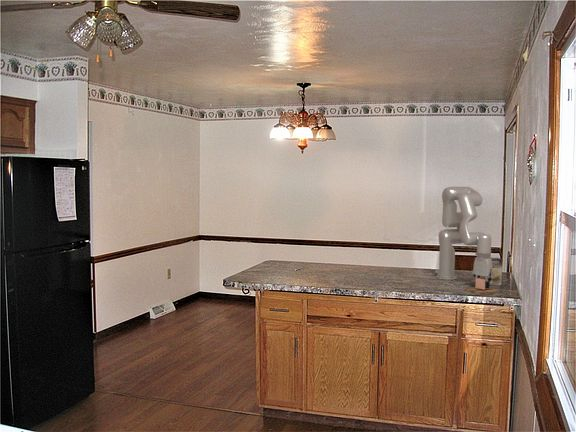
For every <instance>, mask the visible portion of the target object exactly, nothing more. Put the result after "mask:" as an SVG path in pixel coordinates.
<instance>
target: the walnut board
mask: <svg viewBox="0 0 576 432" xmlns="http://www.w3.org/2000/svg"><path fill="white" fill-rule="evenodd" d="M501 291H502V290H501V289H496V288H492V287H490V288H489V289H484V290H483V289H479V288H475V286H472V287H467V288H464V292H469V293H471V294H477V295H482V296H490V295H494V294H495V295H496V294H499V292H500V293H501Z"/></svg>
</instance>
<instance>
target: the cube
mask: <svg viewBox="0 0 576 432" xmlns="http://www.w3.org/2000/svg"><path fill="white" fill-rule="evenodd" d="M485 281H486V278H483V276H480V278H476V279H475V286H474V287H475V288H479V289H483V290H484V289H489V288H491V287H490V286H491V285H490V286H489V288H485Z"/></svg>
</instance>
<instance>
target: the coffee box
mask: <svg viewBox="0 0 576 432" xmlns="http://www.w3.org/2000/svg"><path fill="white" fill-rule="evenodd" d="M491 259H492V269H493V271H492V272H493V274H494V275H495V277H494V278H493V279H492V280H491V281H490V286H502V279H503V278H502V275H503V259H502V258H500V257H491ZM482 277H483V278H485V277H484V276H482ZM490 277H491V276H490Z"/></svg>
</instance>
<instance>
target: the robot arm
mask: <svg viewBox="0 0 576 432" xmlns="http://www.w3.org/2000/svg"><path fill="white" fill-rule="evenodd" d="M441 199H442V217H441V223H442V226H443V227H445V228H446V229H442V230H440V231H439V233H438V243H439V263H438V269H436V270H435V271H434V274H436V276H435V277H436V279H438V280H439V279H440V280H444V281H445V280H446V281H447V280H448V281H450V280H451V281H452V280H456V279H457V278H458V277H457V276H456V275H455V267H456V266H455V263H456V249H455V248H454V245H461V244H463V245H465V246H476V252H475V255H476V257H474V262H473V269H472V270H471V271H470V273H471V275H473V278H474V279H475V280H476V278H481V277H483V276H484V277H485V278H486V281H485V288H489V286H491V285H490V281H491V280H492V279H493V278H494V277H495V275H494V274H493V272H492V271H493V269H492V259H491V258H492V256H491V255H492V236H491V235H490V234H489V233H488V234H487V233H485V232H469V230H468V223H470V222H472V221H474V220H475V219H476V218H477V217H478V212H477V209H476V207H480V206H481V205H482V203H483V197H482V195H481V194H480V193H479V192H478V191H477V190H475V189H474V188H472V187H471V186H448V187H446V188H444V189H443V190H442V194H441ZM456 201H457V203H458V206H459V208H460V212H459V211H457V210H458V206H457V203H456ZM490 276H491V277H490Z"/></svg>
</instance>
